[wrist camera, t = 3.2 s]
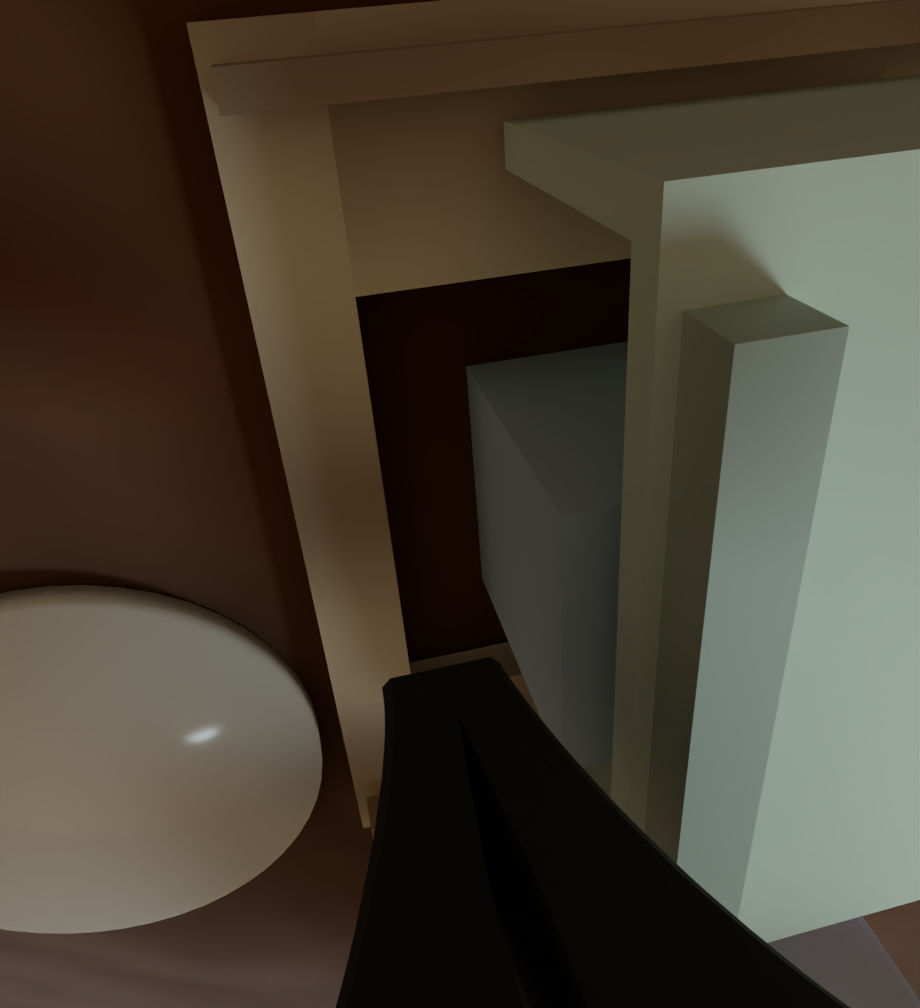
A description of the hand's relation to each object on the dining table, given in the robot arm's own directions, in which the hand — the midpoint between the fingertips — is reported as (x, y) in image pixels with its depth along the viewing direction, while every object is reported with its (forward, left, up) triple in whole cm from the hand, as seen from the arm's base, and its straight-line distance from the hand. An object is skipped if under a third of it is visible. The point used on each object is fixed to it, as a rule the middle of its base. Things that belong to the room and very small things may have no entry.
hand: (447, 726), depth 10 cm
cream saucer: (-5, +7, -6) cm, 10 cm away
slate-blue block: (0, -4, -6) cm, 7 cm away
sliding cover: (0, -7, -4) cm, 8 cm away
